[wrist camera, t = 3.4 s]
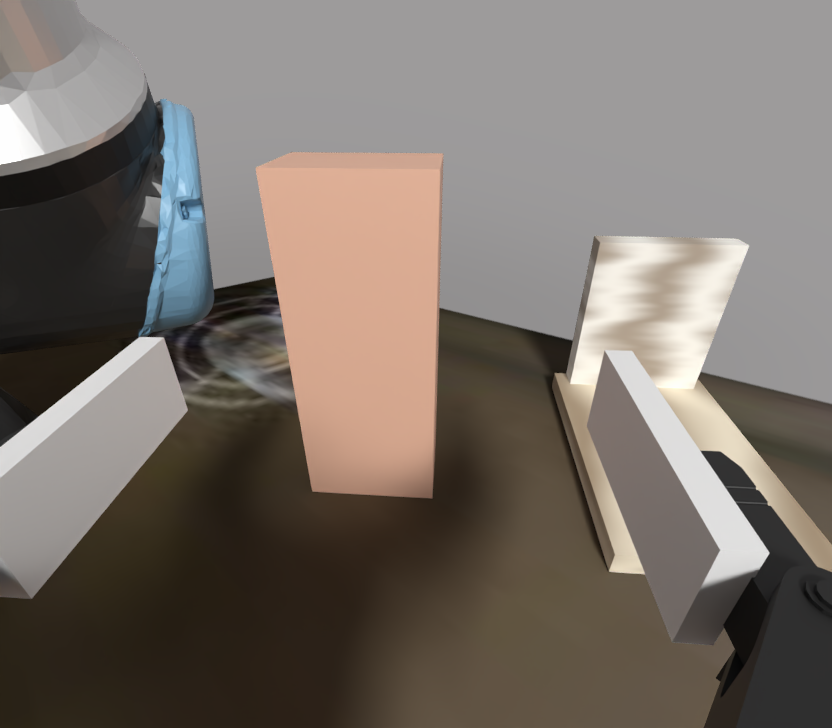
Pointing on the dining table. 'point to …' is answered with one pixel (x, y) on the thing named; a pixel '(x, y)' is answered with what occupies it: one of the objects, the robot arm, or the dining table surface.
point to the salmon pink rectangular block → (360, 312)
